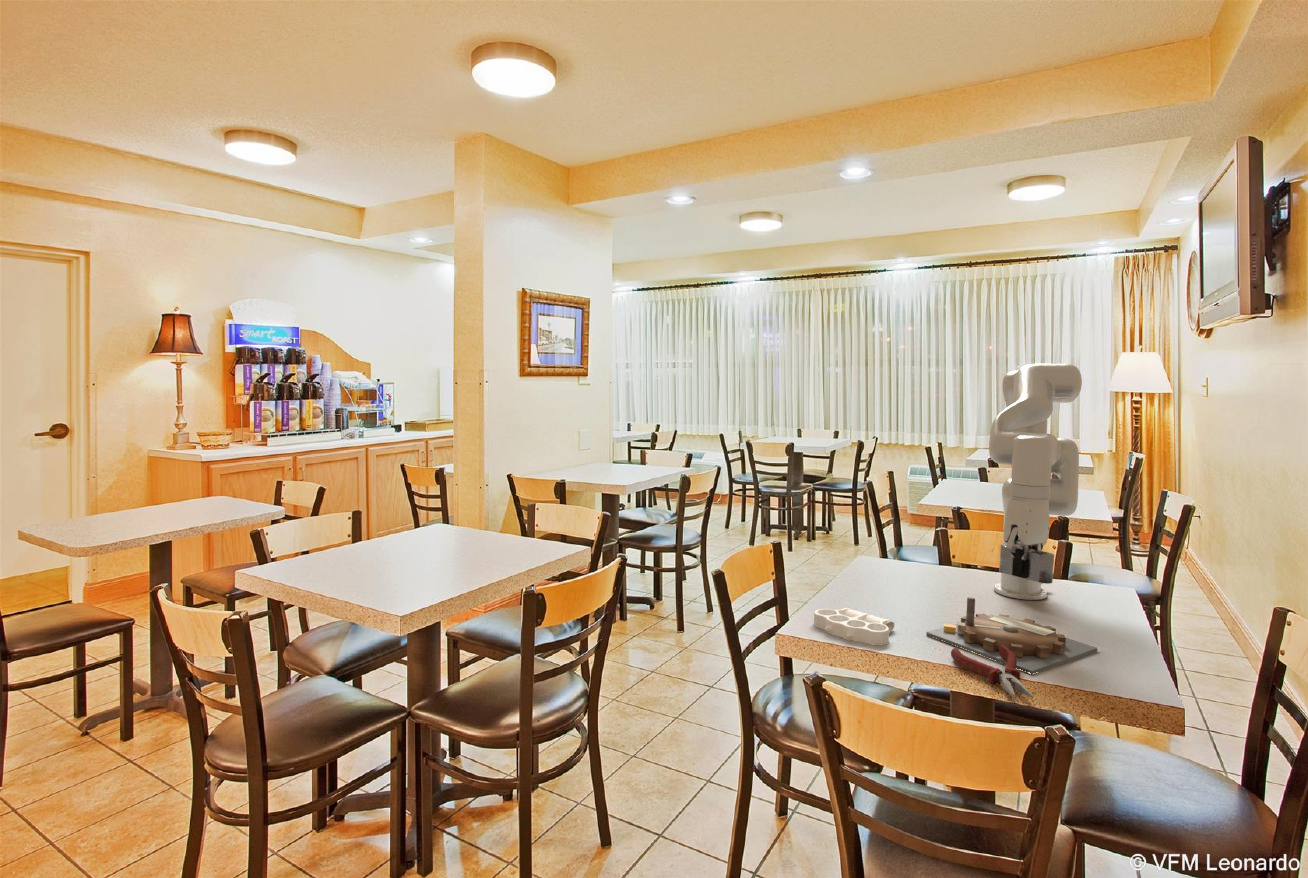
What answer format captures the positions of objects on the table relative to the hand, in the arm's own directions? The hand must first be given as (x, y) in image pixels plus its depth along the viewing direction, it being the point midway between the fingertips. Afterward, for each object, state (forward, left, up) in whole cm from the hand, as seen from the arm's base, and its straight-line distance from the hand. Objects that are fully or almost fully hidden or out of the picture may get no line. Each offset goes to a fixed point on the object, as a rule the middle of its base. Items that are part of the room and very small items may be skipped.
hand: (1025, 574), depth 151 cm
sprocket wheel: (+4, 0, -15) cm, 15 cm away
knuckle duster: (+28, -22, -15) cm, 39 cm away
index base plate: (+4, 0, -15) cm, 15 cm away
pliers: (+25, +8, -15) cm, 30 cm away
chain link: (0, 0, 0) cm, 0 cm away
